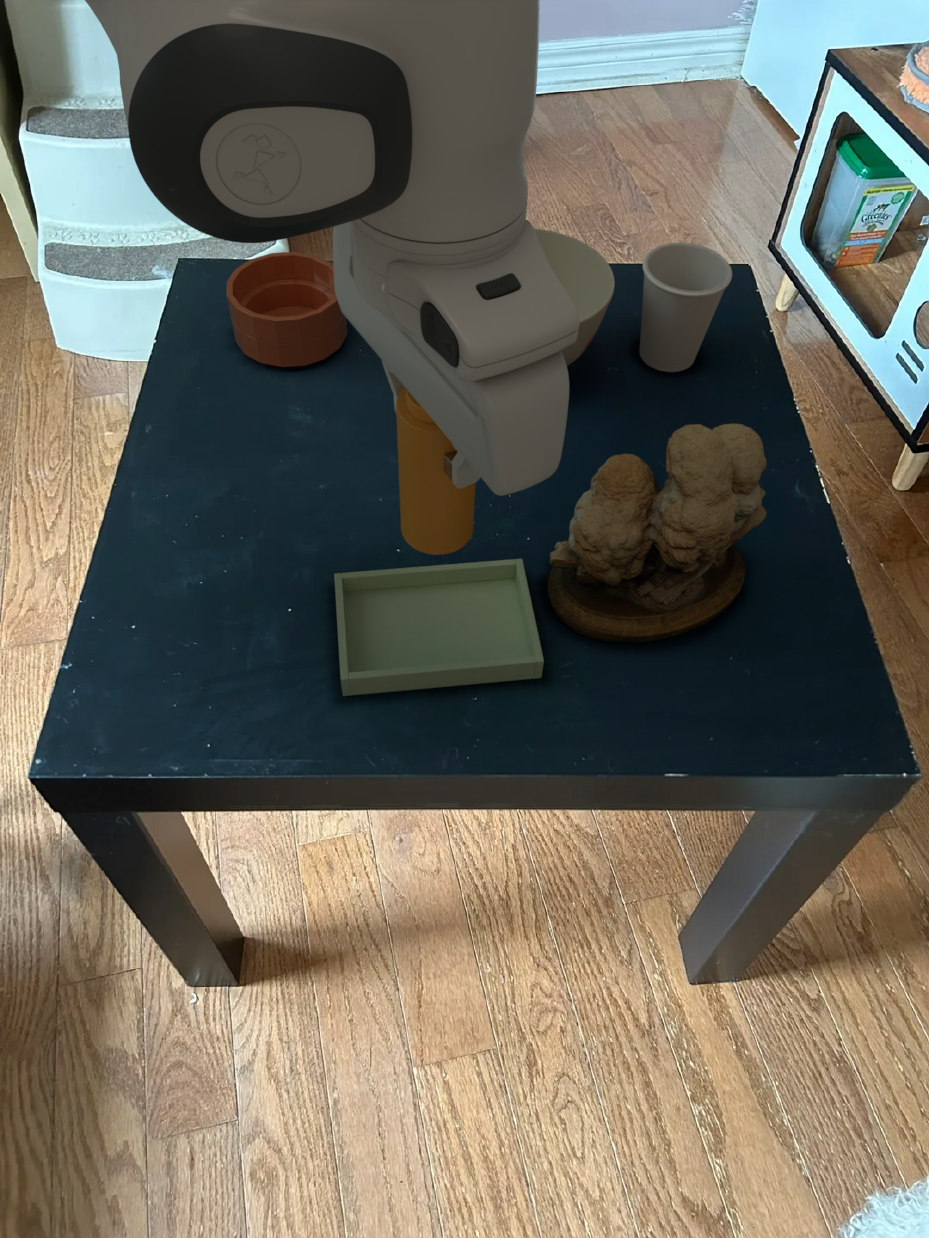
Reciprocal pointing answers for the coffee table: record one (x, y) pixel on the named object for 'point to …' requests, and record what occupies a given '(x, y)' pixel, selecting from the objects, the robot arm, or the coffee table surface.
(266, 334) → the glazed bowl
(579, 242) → the bowl
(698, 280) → the dixie cup
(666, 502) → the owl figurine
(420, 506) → the bottle
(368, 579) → the tray
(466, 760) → the coffee table surface
